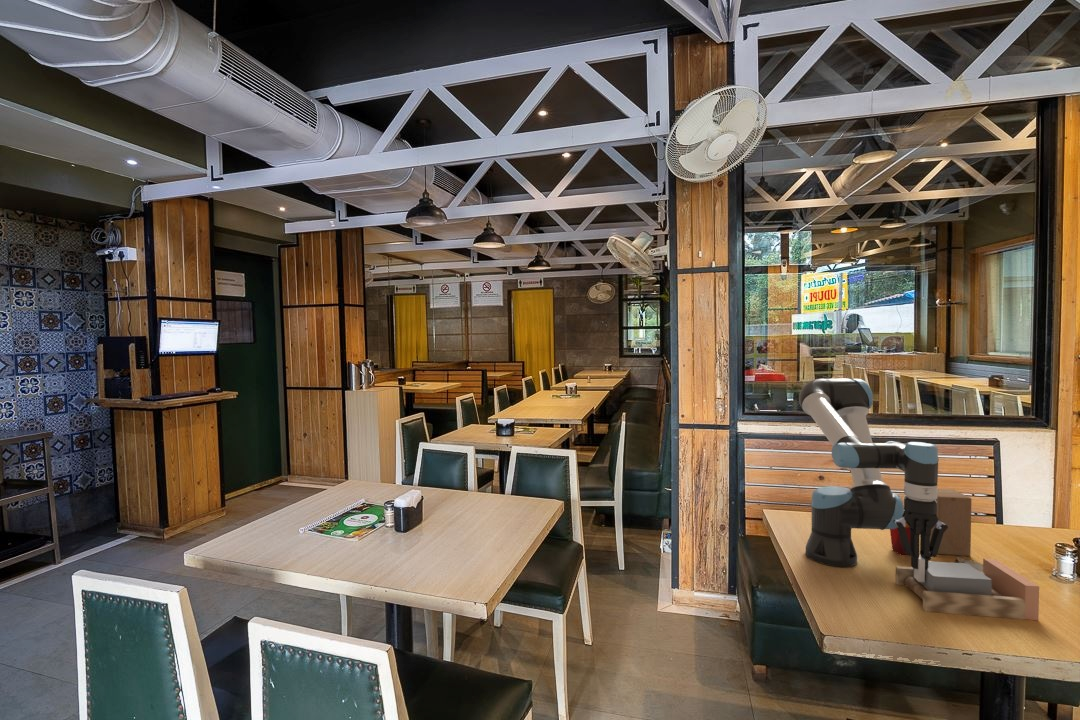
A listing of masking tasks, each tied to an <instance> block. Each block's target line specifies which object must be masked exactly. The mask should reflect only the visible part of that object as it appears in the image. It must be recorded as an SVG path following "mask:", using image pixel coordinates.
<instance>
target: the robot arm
mask: <svg viewBox="0 0 1080 720" xmlns="http://www.w3.org/2000/svg"><path fill="white" fill-rule="evenodd" d="M873 395H874V394H873V392H872V388H871V387H870V385H869V383H868V382H866V381H865V380H863V379H861V378H852V377H847V378H816V379H813V380H810V381H809V382H807V383H806V384H805V385H804V386H803V387H802V388H801V390H800V391H799V395H798V402H799V405H800V407H801V409H802V411H803V412H804V414H806V415H808V416H811V418H812V419H813V421H814V422H815V424H816V425H817V426H818V427H819V429H820V430H821V432H822V433H823V435H824V436H825V437H826V439H827V440H828V442H829V443H830V444H831V446H832V448H831V459H832V460H833V463H834V464H835V466H837V467H839V468H843V469H844V468H848V469H850V474H851V478H852V483H853V484H852V485H851V487H850V488H847V487H845V486H836V485H829V486H828V485H827V486H821V487H818V488H815V490H813V491H812V493H811V501H810V504H811V505H810V506H811V529H810V530H811V532H810V535H809V537H808V539H807V542H806V545H805V555H806V557H808V559H810V560H812V561H813V562H817V563H820V564H822V565H826V566H830V567H837V568H846V567H848V568H850V567H853V566H855V565H857V564H858V554H857V551H856V548H855V545H854V543H853V540H852V530H853V529H857V530H860V529H863V530H864V529H866V530H880V531H884V530H890V529H895V528H897V529H898V533H899V536H900V540H901V544H902V548H903V551H904V552H905V553H906V554H907V555H909V556H910V567H913V568H914V578H915V579H916V580H917V581H919V582H925V570H927V569H928V561H931V559H932V558H937V556H938V554H937V553H938V550H939V547H940V543H941V540H942V537H943V533H944V532H945V531H946V530H947V528H948V526H947V525H946V524H944V523H942V522H940V521H938V520H939V519H938V517H937V501H936V500H935V499H937V489H938V482H939V481H938V480H939V479H938V477H939V451H938V450H939V449H938V447H937V446H936V445H935V444H933V443H927V442H921V441H910V442H908V441H907V442H906V443H902V442H900V441H895V440H894V441H892V440H891V441H890V440H889V441H886V442H884V443H881V442H880V443H879V442H878V443H876V442H875V443H874V442H873V440H872V435H871V431H870V428H869V424H868V420H867V415H868V414H869V412H870V409H871V408H872V406H873V403H874V400H873V399H874V396H873ZM881 469H896V470H900V471H902V472H904V479H903V480H904V483H903V484H904V485H903V486H904V487H903V489H904V490H903V494H904V495H905V496H904V497H903V499H902V498H901V497H900V495H899V494H897V493H895V492H892V491H891V487H890V485H889V484H888V483H886V482H884V480H883V477H882V473H881ZM905 522H906V523H907V524H908V526H909V527H910V543H909V540H908V536H907V532H906V529H905ZM934 526H935V528H934V531H933V534H932V537H931V540H930V535H931V529H932V528H933V527H934Z"/></svg>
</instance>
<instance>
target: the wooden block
mask: <svg viewBox="0 0 1080 720" xmlns="http://www.w3.org/2000/svg"><path fill="white" fill-rule="evenodd" d="M935 500H936V501H937V517H938V519H939V520H938V521H940V522H942V523H944V524H946V525H947V526H948V528H947V530H946V531H945V532H944V533H943V537H942V540H941V543H940V547H939V550H938V553H937V555H947V556H962V557H971V552H972V551H971V547H972V544H971V543H972V542H971V541H972V539H971V538H972V498H971V497H969V496H967V495H966V494H963V493H961V492H959V491H957V490H955V489H952V488H951V489H948V488H947V489H946V488H945V489H944V488H937V499H935ZM934 528H935V526H934V527H933V528H932V529H931V535H930V540H931V537H932V534H933V531H934Z"/></svg>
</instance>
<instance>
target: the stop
mask: <svg viewBox="0 0 1080 720" xmlns="http://www.w3.org/2000/svg"><path fill="white" fill-rule="evenodd" d="M982 561H983V562H982V564H983V572H984V573H986V576H987V577H988V578H990V579H991V580H992V589H994V590H995V591H997V592H998V593H999V594H1001V595H1002V596H1005V597H1019V598H1022V599H1024V600H1025V619H1024V620H1030V621H1039V615H1040V614H1039V612H1040V611H1039V610H1040V608H1039V607H1040V606H1039V605H1040V604H1039V603H1040V586H1039V585H1038V584H1037V583H1034V582H1033V581H1031V580H1029V579H1028V578H1026V577H1025V576H1023V575H1022V574H1020V573H1018V572H1016V571H1015V570H1013V569H1012V568H1010V567H1008V566H1007V565H1006V564H1004V563H1002V562H1000V561H999V560H997V559H996V558H983V559H982Z"/></svg>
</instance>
